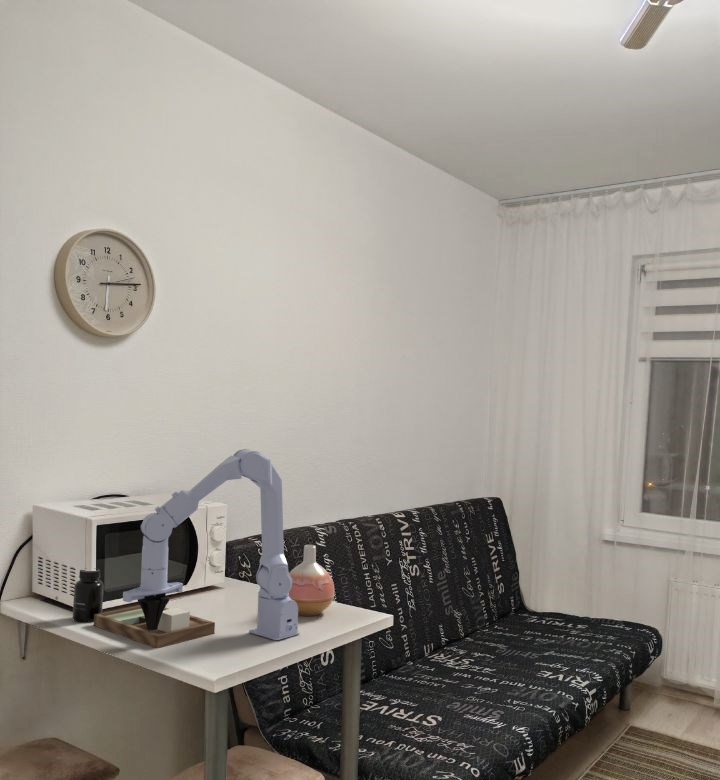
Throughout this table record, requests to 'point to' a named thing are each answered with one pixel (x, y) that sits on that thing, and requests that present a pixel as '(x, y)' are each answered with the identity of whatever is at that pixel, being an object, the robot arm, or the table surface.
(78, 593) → the supplement bottle
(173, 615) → the cream block
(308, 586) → the vase
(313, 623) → the table surface
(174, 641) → the tray
